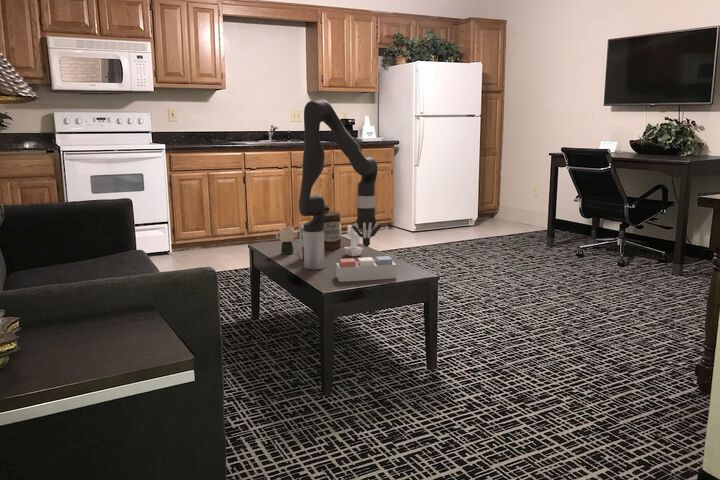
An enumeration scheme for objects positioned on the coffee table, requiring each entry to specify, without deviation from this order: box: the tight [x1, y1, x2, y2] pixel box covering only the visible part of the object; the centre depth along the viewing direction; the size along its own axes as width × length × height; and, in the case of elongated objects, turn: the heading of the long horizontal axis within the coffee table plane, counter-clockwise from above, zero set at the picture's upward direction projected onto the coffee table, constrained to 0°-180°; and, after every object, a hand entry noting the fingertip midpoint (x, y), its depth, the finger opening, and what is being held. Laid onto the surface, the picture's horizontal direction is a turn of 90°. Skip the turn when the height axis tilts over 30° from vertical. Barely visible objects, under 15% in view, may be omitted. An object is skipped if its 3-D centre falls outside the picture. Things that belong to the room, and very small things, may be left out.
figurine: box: [343, 224, 364, 257], centre depth 289 cm, size 7×9×15 cm
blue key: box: [374, 255, 393, 265], centre depth 250 cm, size 6×6×5 cm
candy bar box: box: [298, 225, 304, 261], centre depth 283 cm, size 11×5×16 cm, turn 112°
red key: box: [339, 257, 357, 267], centre depth 248 cm, size 6×6×5 cm
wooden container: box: [312, 205, 342, 251], centre depth 308 cm, size 15×15×22 cm
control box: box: [335, 260, 397, 283], centre depth 250 cm, size 9×24×6 cm, turn 101°
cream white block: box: [357, 256, 375, 266], centre depth 249 cm, size 6×6×5 cm
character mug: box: [275, 226, 298, 255], centre depth 294 cm, size 11×7×13 cm, turn 111°
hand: (366, 246), depth 248 cm, fingers closed
